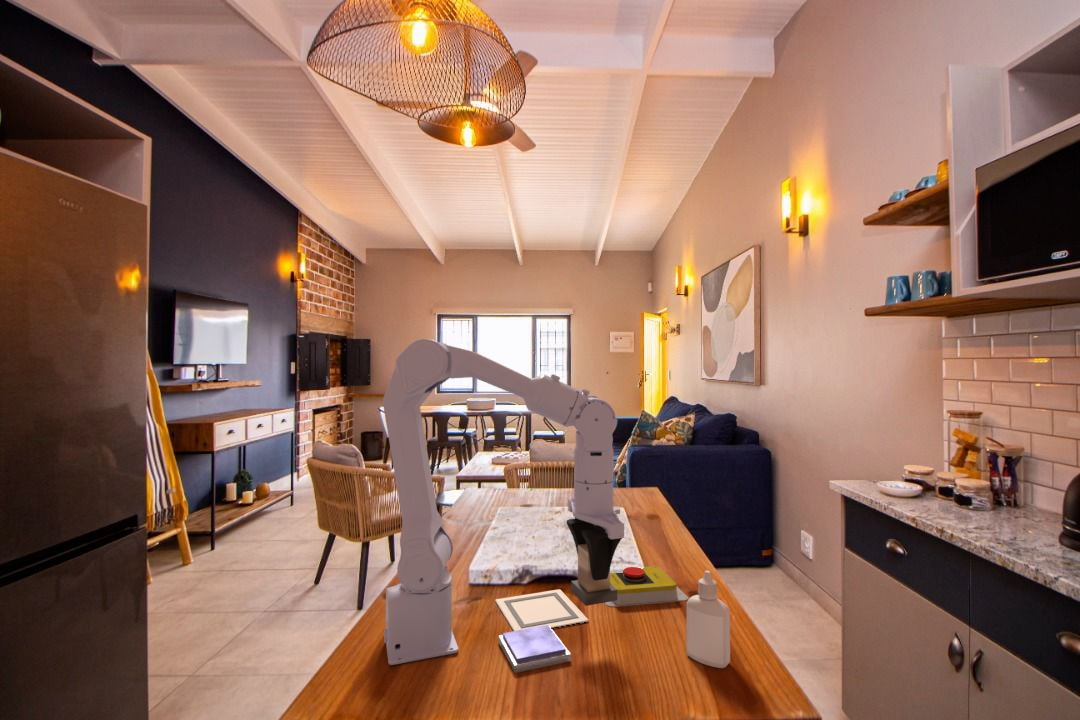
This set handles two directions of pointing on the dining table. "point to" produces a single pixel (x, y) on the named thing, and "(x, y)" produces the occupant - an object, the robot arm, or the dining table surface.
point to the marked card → (540, 610)
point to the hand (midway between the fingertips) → (593, 573)
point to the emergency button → (644, 587)
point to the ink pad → (533, 648)
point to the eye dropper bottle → (708, 626)
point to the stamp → (591, 582)
